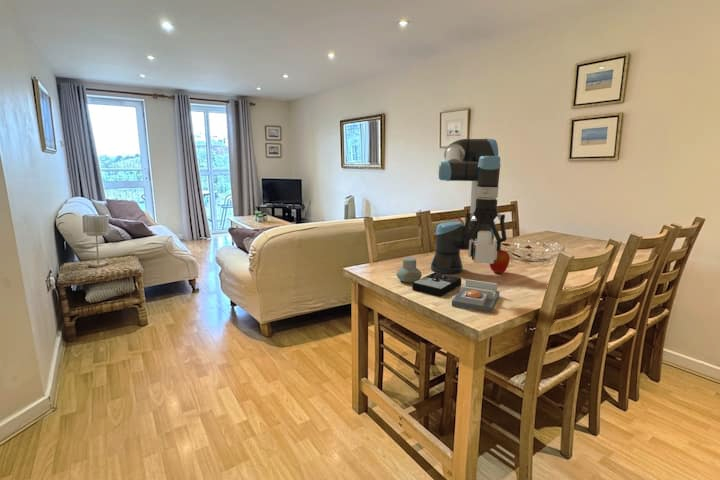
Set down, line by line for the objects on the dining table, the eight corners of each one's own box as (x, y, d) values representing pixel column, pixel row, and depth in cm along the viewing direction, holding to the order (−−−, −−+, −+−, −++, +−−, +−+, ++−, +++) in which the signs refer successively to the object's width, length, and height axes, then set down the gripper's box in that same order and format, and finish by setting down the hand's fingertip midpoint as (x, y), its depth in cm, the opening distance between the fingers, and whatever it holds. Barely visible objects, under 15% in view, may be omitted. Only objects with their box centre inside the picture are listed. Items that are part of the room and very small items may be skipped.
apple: (486, 273, 177) (488, 249, 174) (488, 269, 185) (490, 245, 182) (507, 276, 173) (510, 251, 171) (509, 271, 181) (511, 247, 179)
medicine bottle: (471, 258, 148) (473, 228, 145) (489, 259, 147) (492, 229, 144) (474, 263, 141) (476, 231, 138) (493, 263, 140) (496, 232, 138)
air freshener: (399, 284, 161) (400, 261, 159) (394, 278, 169) (395, 257, 167) (423, 283, 163) (424, 260, 161) (417, 277, 171) (418, 256, 169)
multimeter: (461, 285, 161) (462, 274, 160) (440, 298, 146) (441, 286, 145) (434, 279, 169) (434, 269, 168) (411, 291, 154) (412, 279, 153)
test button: (465, 298, 136) (465, 293, 136) (468, 294, 140) (468, 289, 140) (479, 301, 134) (480, 295, 133) (482, 296, 138) (482, 291, 138)
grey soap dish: (451, 305, 137) (452, 292, 136) (463, 290, 154) (464, 278, 153) (491, 312, 131) (492, 299, 130) (499, 296, 148) (500, 284, 147)
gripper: (455, 197, 141) (452, 256, 145) (516, 200, 131) (511, 263, 135) (460, 196, 147) (456, 252, 152) (518, 199, 138) (513, 258, 142)
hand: (482, 257), depth 143 cm, fingers closed on medicine bottle, 8 cm apart
